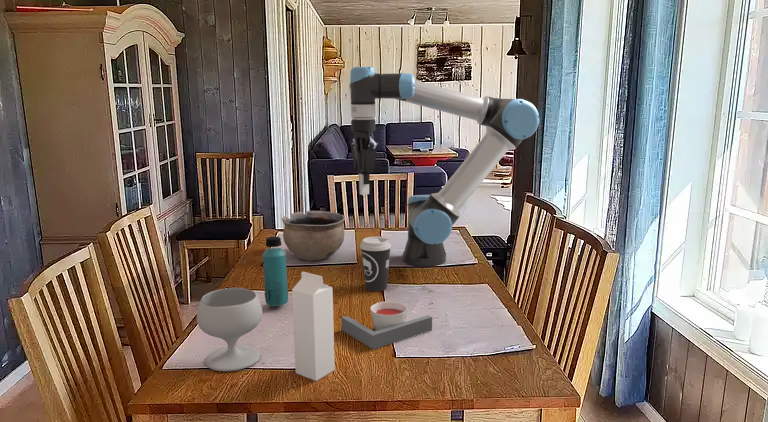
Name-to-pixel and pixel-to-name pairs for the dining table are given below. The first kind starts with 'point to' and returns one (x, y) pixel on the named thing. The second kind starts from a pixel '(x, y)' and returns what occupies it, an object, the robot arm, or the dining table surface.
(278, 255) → the beverage bottle
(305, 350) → the milk
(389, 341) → the corner fence
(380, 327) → the candle
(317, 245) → the ceramic bowl
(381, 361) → the dining table surface
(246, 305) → the chalice
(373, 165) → the robot arm
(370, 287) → the coffee cup
